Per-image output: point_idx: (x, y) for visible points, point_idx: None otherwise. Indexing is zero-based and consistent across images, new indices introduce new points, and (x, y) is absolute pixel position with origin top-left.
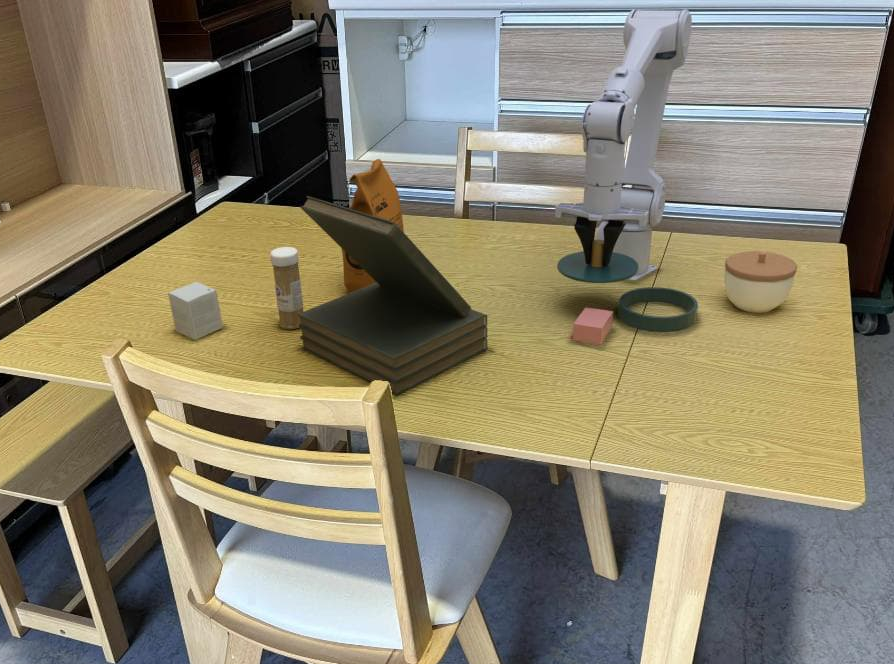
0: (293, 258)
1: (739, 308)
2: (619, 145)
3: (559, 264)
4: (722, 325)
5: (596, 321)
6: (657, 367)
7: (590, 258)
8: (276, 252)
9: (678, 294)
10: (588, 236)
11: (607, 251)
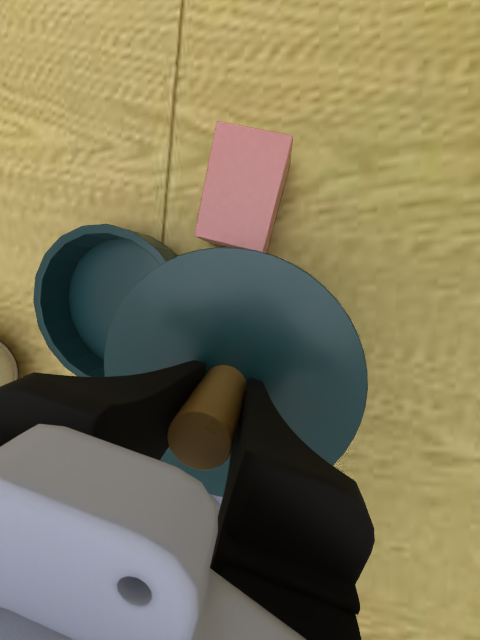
0: None
1: (4, 350)
2: None
3: (359, 388)
4: (27, 289)
5: (232, 162)
6: (114, 76)
7: (246, 391)
8: None
9: (77, 363)
10: (245, 430)
11: (166, 372)
